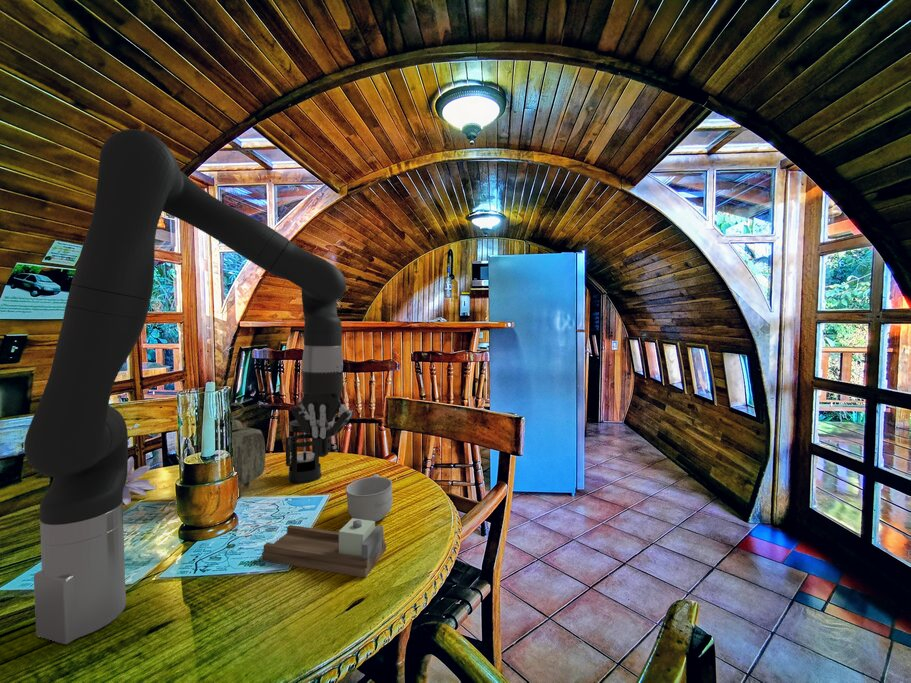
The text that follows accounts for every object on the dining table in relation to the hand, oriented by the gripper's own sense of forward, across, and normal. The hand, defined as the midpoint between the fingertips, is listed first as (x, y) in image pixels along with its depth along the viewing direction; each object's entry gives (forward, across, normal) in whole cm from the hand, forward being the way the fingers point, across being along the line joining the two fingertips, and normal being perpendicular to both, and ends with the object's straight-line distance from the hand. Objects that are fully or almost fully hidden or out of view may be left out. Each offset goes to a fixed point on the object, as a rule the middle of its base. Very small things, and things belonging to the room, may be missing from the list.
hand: (322, 455), depth 77 cm
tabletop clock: (+21, -38, +18) cm, 47 cm away
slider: (+18, +8, 0) cm, 20 cm away
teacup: (+20, +2, +18) cm, 27 cm away
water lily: (+21, -64, +11) cm, 68 cm away
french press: (+20, -28, +34) cm, 48 cm away
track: (+20, +1, 0) cm, 20 cm away
